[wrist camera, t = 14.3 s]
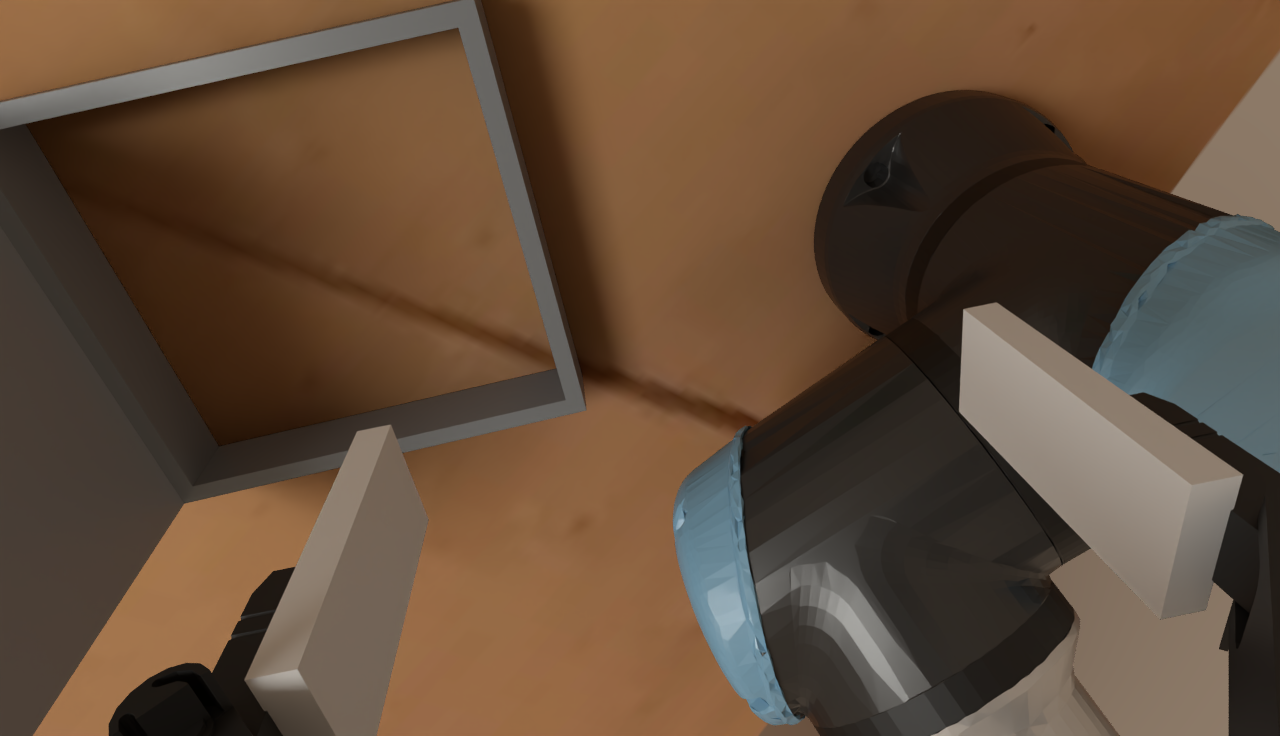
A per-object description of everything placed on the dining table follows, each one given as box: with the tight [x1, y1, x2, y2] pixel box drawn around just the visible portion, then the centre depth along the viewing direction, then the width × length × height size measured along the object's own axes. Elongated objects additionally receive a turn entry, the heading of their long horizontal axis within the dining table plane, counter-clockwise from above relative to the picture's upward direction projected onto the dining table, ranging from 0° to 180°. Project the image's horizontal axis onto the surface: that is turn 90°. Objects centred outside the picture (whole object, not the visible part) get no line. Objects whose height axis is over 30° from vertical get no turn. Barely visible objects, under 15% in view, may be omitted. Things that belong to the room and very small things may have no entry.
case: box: [0, 0, 586, 736], centre depth 30 cm, size 25×22×23 cm
